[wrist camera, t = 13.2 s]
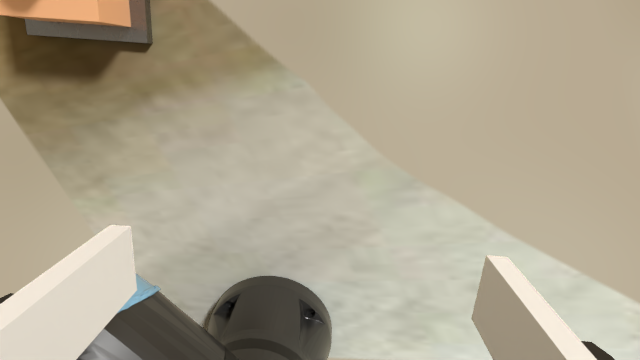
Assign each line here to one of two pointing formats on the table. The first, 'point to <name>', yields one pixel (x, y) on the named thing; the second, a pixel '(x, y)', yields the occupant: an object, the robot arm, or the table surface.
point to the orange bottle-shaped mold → (70, 11)
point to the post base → (100, 27)
